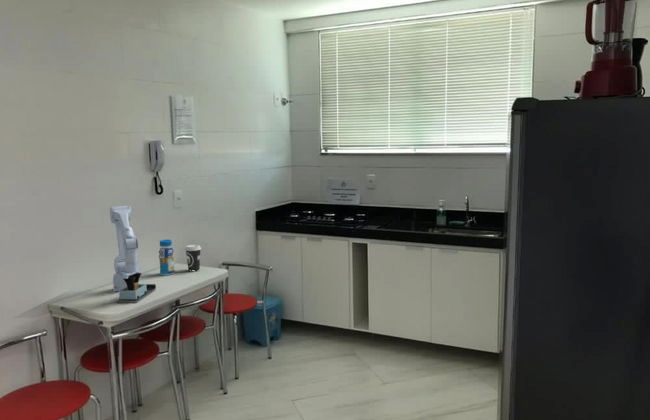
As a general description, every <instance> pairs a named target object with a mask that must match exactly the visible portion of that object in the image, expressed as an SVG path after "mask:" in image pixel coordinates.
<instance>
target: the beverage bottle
mask: <svg viewBox="0 0 650 420" xmlns="http://www.w3.org/2000/svg"><path fill="white" fill-rule="evenodd" d="M172 245H173V242H172V240H171V239H161V240H159V247H160V248H159V251H158V254H159V255H158V259H159V273H160V275H161V276H171V274H172V275H174V274H175V262H174V261H175V259H174V258H175V254H174V249H173V248H172Z"/></svg>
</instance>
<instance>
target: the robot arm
mask: <svg viewBox="0 0 650 420" xmlns="http://www.w3.org/2000/svg"><path fill="white" fill-rule="evenodd" d="M109 216H110V217H109V218H110V221H111V223H112V224H114V225H115V228H116V229H115V230H116V238H117V246H118V255H117V256H115V258H114V260H113V261H114V262H113V265H114V266H113V267H114V274H113V275H112V276H113V277H112V284H113V290H112V291H113V292H119V291H120V290H122V289H123V288H125V287H128V290H129V291H133V289H134V282H138V283H139V282H140V278H141V276H142V273H141V271H142V270H141V267H139V263H138V262H139V261H138V248H139V242H138V238H137V236H136V235H135V233H134V230H133V227H131V226H130V223H129V222H130V220H131V216H132V207H131V206H130V205H119V206H117V205H116V206H110V207H109Z"/></svg>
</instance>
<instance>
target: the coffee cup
mask: <svg viewBox="0 0 650 420" xmlns="http://www.w3.org/2000/svg"><path fill="white" fill-rule="evenodd" d="M201 250H202V247H201V246H200V244H189V245H188V244H187V245H186V246H185V248H184V251H185V255H186V261H187V269H188V271H189V270H191V271H192V270H199V269H200V267H201ZM200 270H201V269H200ZM200 270H199V271H200ZM191 271H190V272H191Z"/></svg>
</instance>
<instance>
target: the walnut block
mask: <svg viewBox="0 0 650 420" xmlns="http://www.w3.org/2000/svg"><path fill="white" fill-rule="evenodd" d="M138 284H139V282H134V289H133V291H135V290H137V289H139V287H138ZM127 291H129V290H128V287H127Z"/></svg>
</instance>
